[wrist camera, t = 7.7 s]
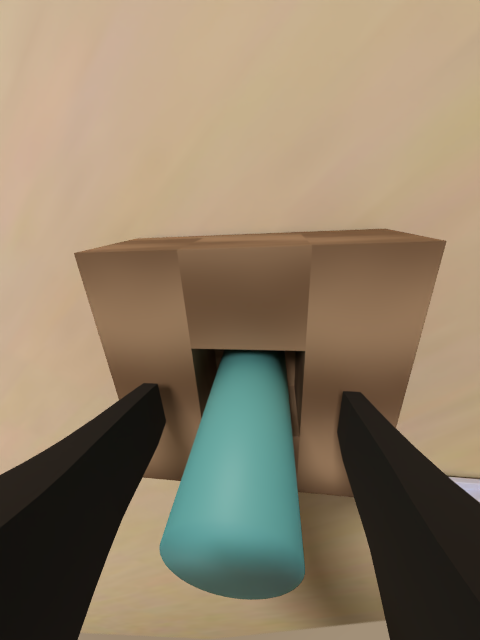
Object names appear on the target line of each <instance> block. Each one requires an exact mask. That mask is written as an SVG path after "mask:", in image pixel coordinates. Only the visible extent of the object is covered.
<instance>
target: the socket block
mask: <svg viewBox="0 0 480 640" xmlns="http://www.w3.org/2000/svg"><path fill="white" fill-rule="evenodd" d="M445 245H446V241H444V240H439V239H434V238H429V237H424V236H419V235H414V234H409V233H404V232H399V231H394V230H389V229H367V230H342V231H317V232H292V233H267V234H241V235H216V236H191V237H166V238H141V239H133V240H129V241H124V242H120V243H116V244H112V245H107V246H103V247H99V248H94V249H90V250H86V251H81V252H77V253H74V255H75V258H76V261H77V265H78V268H79V271H80V274H81V278H82V281H83V284H84V287H85V291H86V294H87V297H88V300H89V304H90V307H91V310H92V313H93V317H94V320H95V323H96V326H97V330H98V333H99V336H100V339H101V343H102V346H103V349H104V352H105V356H106V359H107V362H108V365H109V368H110V372H111V375H112V378H113V381H114V385H115V388H116V391H117V394H118V398H119V400H120V399H122V398H123V397H124V396H126V395H127V394H129V393H130V392H131V391H133V390H134V389H136V388H137V387H138V386H140V385H142V384H143V383H156V384H158V387H159V391H160V396H161V400H162V405H163V409H164V414H165V418H166V424H165V427H164V430H163V433H162V436H161V438H160V441H159V444H158V446H157V449H156V451H155V453H154V455H153V457H152V459H151V461H150V463H149V465H148V467H147V469H146V471H145V473H144V475H143V477H144V478H155V479H166V480H176V481H181V479H182V476H183V473H184V470H185V467H186V464H187V461H188V458H189V455H190V452H191V449H192V446H193V443H194V440H195V437H196V434H197V431H198V428H199V425H200V422H201V419H202V416H203V413H204V410H205V407H206V404H207V401H208V398H209V395H210V392H211V389H212V386H213V383H214V379H215V376H216V373H217V370H218V367H219V364H220V361H221V358H222V355H223V352H224V349H237V350H284V351H285V361H286V372H287V382H288V393H289V404H290V414H291V425H292V436H293V446H294V457H295V468H296V478H297V489H298V492H305V493H316V494H327V495H337V496H348V497H354V496H353V492H352V489H351V486H350V483H349V480H348V476H347V473H346V470H345V467H344V463H343V460H342V455H341V450H340V445H339V440H338V435H337V429H338V422H339V415H340V408H341V401H342V395H343V391H352V392H361V393H362V394H363V395H364V396H365V397H366V398H367V399H368V400H369V401H370V402H371V403H372V404H373V405H374V406H375V408H376V409H377V410H378V411H379V412H380V413H381V414H382V415H383V416H384V417H385V418H386V419H387V420H388V421H389V422H390V423H391V424H392V425H393V426H394V427H395V428H396V425H397V422H398V418H399V414H400V411H401V407H402V403H403V400H404V396H405V392H406V389H407V385H408V381H409V377H410V374H411V370H412V366H413V363H414V359H415V355H416V352H417V348H418V344H419V341H420V337H421V333H422V329H423V326H424V322H425V318H426V315H427V311H428V307H429V304H430V300H431V296H432V293H433V289H434V285H435V281H436V278H437V274H438V270H439V267H440V263H441V259H442V256H443V252H444V248H445Z"/></svg>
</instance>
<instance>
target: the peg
mask: <svg viewBox="0 0 480 640" xmlns="http://www.w3.org/2000/svg"><path fill="white" fill-rule="evenodd" d="M160 555H161V557H162V560H163V561H164V563H165V564H166V566H167V567H168V568H169V569H170V570H171V571H172V572H173V573H174V574H175V575H177V576H178V577H179V578H180V579H182V580H184V581H185V582H187V583H189V584H191V585H192V586H195V587H197V588H199V589H201V590H204V591H207V592H210V593H213V594H216V595H220V596H225V597H230V598H237V599H267V598H273V597H277V596H281V595H283V594H286V593H288V592H290V591H292V590H294V589H295V588H296V587H297V586H298V585H299V584H300V583H301V582H302V580H303V578H304V575H305V564H304V553H303V542H302V532H301V521H300V510H299V500H298V489H297V478H296V468H295V457H294V446H293V436H292V425H291V414H290V404H289V393H288V382H287V372H286V361H285V351H284V350H237V349H224V352H223V355H222V358H221V361H220V364H219V367H218V370H217V373H216V376H215V379H214V383H213V386H212V389H211V392H210V395H209V398H208V401H207V404H206V407H205V410H204V413H203V416H202V419H201V422H200V425H199V428H198V431H197V434H196V437H195V440H194V443H193V446H192V449H191V452H190V455H189V458H188V461H187V464H186V467H185V470H184V473H183V476H182V479H181V482H180V485H179V488H178V491H177V494H176V497H175V500H174V503H173V506H172V509H171V512H170V515H169V519H168V522H167V525H166V528H165V531H164V534H163V537H162V540H161V543H160Z"/></svg>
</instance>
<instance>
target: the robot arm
mask: <svg viewBox="0 0 480 640" xmlns="http://www.w3.org/2000/svg"><path fill="white" fill-rule="evenodd" d="M165 424H166V418H165V414H164V409H163V405H162V400H161V396H160V391H159V387H158V384H156V383H143V384H142V385H140V386H138V387H137V388H136V389H134V390H133V391H131V392H130V393H129V394H127V395H126V396H124V397H123V398H122V399H120V400H119V401H118V402H116V403H115V404H113V405H112V406H111V407H109V408H108V409H106V410H105V411H104V412H102V413H101V414H100V415H98V416H97V417H95V418H94V419H92V420H91V421H89V422H88V423H87V424H85V425H84V426H82V427H81V428H79V429H78V430H76V431H75V432H73V433H72V434H70V435H69V436H67V437H66V438H64V439H63V440H61V441H59V442H58V443H56V444H55V445H53V446H51V447H50V448H48V449H46V450H45V451H43V452H41V453H39V454H38V455H36V456H34V457H33V458H31V459H29V460H27V461H26V462H24V463H22V464H20V465H18V466H16V467H15V468H13V469H11V470H9V471H7V472H5V473H3V474H1V475H0V640H78V637H79V634H80V631H81V628H82V625H83V622H84V619H85V617H86V614H87V611H88V608H89V605H90V602H91V599H92V596H93V594H94V591H95V588H96V585H97V583H98V580H99V577H100V575H101V572H102V569H103V567H104V564H105V561H106V559H107V556H108V553H109V551H110V548H111V546H112V543H113V541H114V538H115V536H116V533H117V531H118V528H119V526H120V523H121V521H122V518H123V516H124V514H125V512H126V510H127V507H128V505H129V503H130V501H131V499H132V497H133V495H134V493H135V491H136V489H137V487H138V485H139V483H140V481H141V479H142V477H143V475H144V473H145V471H146V469H147V467H148V465H149V463H150V461H151V459H152V457H153V455H154V453H155V451H156V449H157V446H158V444H159V441H160V438H161V436H162V433H163V430H164V427H165ZM337 435H338V440H339V445H340V450H341V455H342V460H343V463H344V467H345V470H346V473H347V476H348V480H349V483H350V486H351V489H352V492H353V496H354V499H355V502H356V505H357V508H358V511H359V514H360V518H361V521H362V524H363V527H364V530H365V534H366V537H367V541H368V544H369V548H370V552H371V556H372V561H373V565H374V569H375V574H376V578H377V582H378V587H379V591H380V596H381V600H382V605H383V609H384V614H385V619H386V623H387V628H388V632H389V637H390V640H480V479H471V478H459V477H448V476H447V475H445V474H444V473H443V472H442V471H441V470H440V469H439V468H437V467H436V466H435V465H434V464H433V463H432V462H431V461H430V460H429V459H427V458H426V457H425V456H424V455H423V454H422V453H421V452H420V451H419V450H418V449H416V448H415V447H414V446H413V445H412V444H411V443H410V442H409V441H408V440H407V439H406V438H405V437H404V436H403V435H402V434H401V433H400V432H399V431H398V430H397V429H396V428H395V427H394V426H393V425H392V424H391V423H390V422H389V421H388V420H387V419H386V418H385V417H384V416H383V415H382V414H381V413H380V412H379V411H378V410H377V409H376V408H375V406H374V405H373V404H372V403H371V402H370V401H369V400H368V399H367V398H366V397H365V396H364V395H363V394H362V393H361V392H352V391H343V395H342V401H341V408H340V415H339V422H338V429H337Z"/></svg>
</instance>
